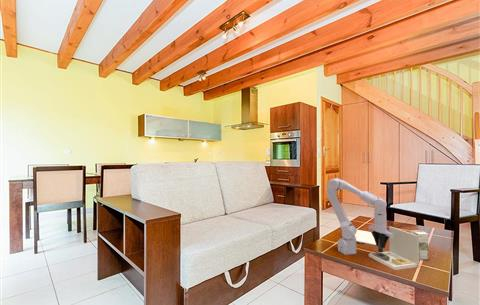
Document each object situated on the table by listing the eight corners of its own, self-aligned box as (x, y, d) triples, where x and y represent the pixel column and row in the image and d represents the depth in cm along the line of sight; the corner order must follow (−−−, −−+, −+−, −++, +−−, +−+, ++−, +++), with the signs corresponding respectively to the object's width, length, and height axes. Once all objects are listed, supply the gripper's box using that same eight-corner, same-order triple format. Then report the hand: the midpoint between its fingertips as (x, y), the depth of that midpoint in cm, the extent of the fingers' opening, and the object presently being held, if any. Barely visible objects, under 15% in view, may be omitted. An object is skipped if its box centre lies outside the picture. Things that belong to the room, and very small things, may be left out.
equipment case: (394, 272, 111) (394, 238, 111) (368, 258, 126) (368, 228, 127) (419, 268, 114) (418, 235, 115) (391, 255, 130) (390, 226, 130)
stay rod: (380, 252, 122) (380, 239, 122) (376, 250, 124) (376, 237, 124) (384, 252, 123) (384, 239, 123) (380, 250, 125) (380, 237, 125)
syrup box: (420, 255, 130) (419, 229, 130) (429, 260, 124) (428, 233, 124) (410, 255, 130) (409, 230, 130) (418, 260, 124) (418, 233, 124)
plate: (383, 249, 139) (383, 245, 139) (340, 240, 154) (340, 237, 154) (387, 238, 159) (387, 234, 159) (349, 231, 174) (349, 228, 174)
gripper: (398, 224, 118) (398, 251, 117) (375, 217, 132) (375, 241, 131) (387, 225, 116) (387, 252, 116) (365, 218, 130) (365, 242, 130)
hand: (380, 246), depth 123 cm, fingers closed on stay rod, 2 cm apart
